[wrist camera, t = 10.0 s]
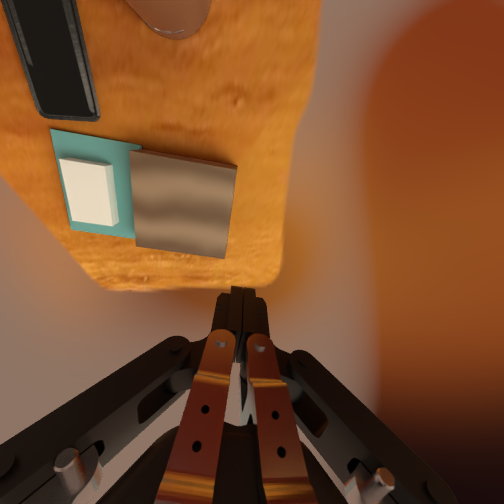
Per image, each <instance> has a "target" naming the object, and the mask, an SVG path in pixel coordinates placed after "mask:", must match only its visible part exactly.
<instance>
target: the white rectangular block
mask: <svg viewBox="0 0 504 504" xmlns="http://www.w3.org/2000/svg"><path fill="white" fill-rule="evenodd" d="M59 161H60V166H61V171H62V175H63V180H64V184H65V189H66V194H67V198H68V203H69V207H70V212H71V217H72V221H78V222H85V223H92V224H99V225H106V226H114V225H115V224H117V223H118V222H119V217H118V208H117V199H116V191H115V182H114V174H113V165H112V164H105V163H99V162H93V161H87V160H81V159H75V158H63V159H59Z"/></svg>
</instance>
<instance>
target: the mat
mask: <svg viewBox="0 0 504 504" xmlns="http://www.w3.org/2000/svg"><path fill="white" fill-rule="evenodd" d="M50 132H51V137H52V142H53V146H54V151H55V156H56V160H57V165H58V170H59V175H60V179H61V184H62V189H63V193H64V198H65V203H66V207H67V212H68V217H69V221H70V226H71V230H78V231H85V232H92V233H99V234H105V235H112V236H119V237H126V238H133V239H135V226H134V212H133V198H132V185H131V171H130V157H129V151H130V150H138V149H142V145H138V144H133V143H127V142H122V141H116V140H111V139H105V138H100V137H94V136H89V135H83V134H78V133H72V132H67V131H61V130H56V129H50ZM63 158H75V159H81V160H87V161H93V162H99V163H105V164H112V165H113V174H114V182H115V191H116V199H117V208H118V217H119V222H118V223H117V224H115V225H114V226H106V225H99V224H92V223H85V222H78V221H72V217H71V212H70V207H69V203H68V198H67V194H66V189H65V184H64V180H63V175H62V171H61V166H60V161H59V159H63Z"/></svg>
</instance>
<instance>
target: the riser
mask: <svg viewBox="0 0 504 504" xmlns="http://www.w3.org/2000/svg"><path fill="white" fill-rule="evenodd" d="M129 157H130V171H131V185H132V198H133V212H134V226H135V239H136V246H137V247H144V248H151V249H158V250H165V251H172V252H179V253H186V254H193V255H200V256H207V257H214V258H221V259H224V258H225V253H226V248H227V240H228V233H229V226H230V218H231V211H232V203H233V196H234V188H235V181H236V173H237V166H234V165H228V164H223V163H217V162H212V161H206V160H201V159H195V158H190V157H184V156H179V155H173V154H167V153H162V152H156V151H151V150H145V149H138V150H130V151H129Z"/></svg>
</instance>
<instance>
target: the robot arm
mask: <svg viewBox="0 0 504 504" xmlns="http://www.w3.org/2000/svg"><path fill="white" fill-rule="evenodd" d="M125 1H126V2H127V3H128V4H129V5H130V6H131V8H132V9H133V10H134V11H135V12H136V13H137V14H138V15H139V16H140V17H141V18H142V19H143V21H144V22H145V23H146V24H147V25H148V26H149V27H150V28H151V29H152V30H153V31H155V32H156V33H158V34H160V35H161V36H163V37H166V38H169V39H177V40H179V39H184V38H187V37H189V36H191V35H193V34H194V33H195V32H196V31H197V30H198V29H200V27H201V26H202V24H203V23H204V21H205V19H206V17H207V14H208V12H209V8H210V3H211V0H125ZM267 315H268V314H267V306H266V303H265V301H264V300H263V298H259V297H256V293H255V289H253V288H246V287H244V288H243V287H238V286H231V291H230V294H228V293H221V294H220V295H219V296H218V298H217V302H216V307H215V313H214V318H213V323H212V329H211V332H210V334H209V335H208V336H207V337H206V338H204V339H202V340H200V341H195V342H189V340H188V339H186V338H185V337H182V336H172V337H169V338H167V339H165V340H164V341H162V342H161V343H159V344H157V345H156V346H154V347H153V348H151V349H150V350H148V351H147V352H145V353H143V354H142V355H140V356H139V357H137V358H135V359H134V360H133V361H131V362H129V363H128V364H126V365H125V366H123V367H122V368H120V369H118V370H117V371H115V372H114V373H112V374H111V375H109V376H107V377H106V378H104V379H103V380H101V381H100V382H98V383H96V384H95V385H93V386H92V387H90V388H89V389H87V390H86V391H84V392H82V393H81V394H79V395H78V396H76V397H74V398H73V399H71V400H70V401H68V402H67V403H65V404H64V405H62V406H60V407H59V408H57V409H56V410H54V411H53V412H51V413H49V414H48V415H46V416H45V417H43V418H42V419H40V420H39V421H37V422H35V423H34V424H32V425H31V426H29V427H28V428H26V429H24V430H23V431H21V432H20V433H18V434H17V435H15V436H14V437H12V438H11V439H9V440H7V441H6V442H4V443H3V444H1V445H0V504H87V503H88V502H89V501H90V500H91V499H92V498H93V496H94V495H95V493H96V492H97V490H98V488H99V486H100V483H101V480H102V474H103V471H102V467H103V466H104V465H106V463H108V462H109V461H110V460H111V459H112V458H113V457H114V456H115V455H116V454H118V453H119V452H120V451H121V450H122V449H123V448H124V447H125V446H126V445H128V444H129V443H130V442H131V441H132V440H133V439H134V438H135V437H136V436H138V434H140V433H141V432H142V431H143V430H144V429H145V428H146V427H147V426H149V424H151V423H152V422H153V421H154V420H155V419H156V418H157V417H159V416H160V415H161V414H162V413H163V412H164V411H165V410H166V409H167V408H168V407H169V406H171V405H172V403H174V402H175V401H176V400H177V399H178V398H179V397H181V396H182V395H183V394H184V393H185V391H186V390H188V389H190V392H189V396H188V399H187V402H186V405H185V409H184V412H183V415H182V418H181V422H180V425H179V426H177V427H175V428H173V429H171V430H169V431H167V432H166V433H164V434H163V435H162V436H161V437H159V438H158V439H157V440H156V441H155V442H154V443H153V444H152V445H151V446H150V447H149V448H148V449H147V450H146V451H145V452H144V454H142V455H141V456H140V458H139V459H138V460H137V461H136V462H135V463H134V464H133V465H132V466H131V467H130V468H129V469H128V470H127V471H126V472H125V473H124V474H123V475H122V476H121V477H120V478H119V480H117V482H116V483H115V484H114V485H113V486H112V487H111V488H110V489H109V490H108V491H107V492H106V493H105V494H104V495H103V496H102V497H101V498H100V499H99V500H98V501H97V502H96V504H458V503H457V500H456V498H455V496H454V494H453V493H452V491H451V490H450V488H449V487H448V485H447V484H446V483H445V482H444V481H443V480H442V479H441V478H440V476H438V474H436V473H435V472H434V471H433V470H432V469H431V468H430V467H429V466H428V465H427V464H426V463H425V462H424V461H423V460H422V459H421V458H420V457H419V456H418V455H416V454H415V453H414V452H413V451H412V450H411V449H410V448H409V447H408V446H407V445H406V444H405V443H404V442H403V441H402V440H401V439H400V438H398V436H396V435H395V434H394V433H393V432H392V431H391V430H390V429H389V428H388V427H387V426H386V425H385V424H384V423H383V422H382V421H380V419H378V418H377V417H376V416H375V415H374V414H373V413H372V412H371V411H370V410H369V409H368V408H367V407H366V406H365V405H364V404H363V403H362V402H361V401H360V400H359V399H358V398H357V397H355V396H354V395H353V394H352V393H351V392H350V391H349V390H348V389H347V388H346V387H345V386H344V385H343V384H342V383H341V382H340V381H338V379H336V378H335V377H334V376H333V375H332V374H331V373H330V372H329V371H328V370H327V369H326V368H325V367H324V366H323V365H322V364H321V363H320V362H319V361H318V360H316V359H315V358H314V357H313V356H312V355H311V354H310V353H308V352H306V351H303V350H295V351H293V352H292V353H291V354H290V353H287V352H285V351H282V350H280V349H278V348H277V347H276V346H275V345H274V344H273V342H272V340H271V339H270V333H269V324H268V316H267ZM235 358H236V363H241V364H240V374H239V402H240V423H239V426H234V425H232V424H229V423H226V422H224V418H225V411H226V405H227V398H228V391H229V385H230V375H231V369H232V364H233V362H235ZM296 424H297V425H298V426H299V428H300V429H301V430H302V432H303V433H304V434H305V436H306V437H307V438H308V439H309V441H310V442H311V443H312V444H313V446H314V447H315V448H316V450H317V451H318V452H319V453H320V455H321V456H322V457H323V458H324V460H325V461H326V462H327V464H328V465H329V466H330V467H331V468H332V470H333V471H334V472H335V474H336V475H337V476H338V478H339V479H340V480H341V481H342V483H343V484H344V485H345V495H346V499H347V501H346V499H345V498H344V496H343V495H342V494H341V493H340V491H339V490H338V488H337V487H336V486H335V484H334V483H333V481H332V480H331V479H330V477H329V476H328V474H327V473H326V472H325V470H324V469H323V468H322V466H321V465H320V464H319V462H318V461H317V459H316V458H315V456H314V455H313V454H312V452H311V451H310V450H309V449H308V448H307V446H306V445H305V444H304V443H303V442H301V441H300V438H299V434H298V429H297V425H296Z"/></svg>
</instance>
